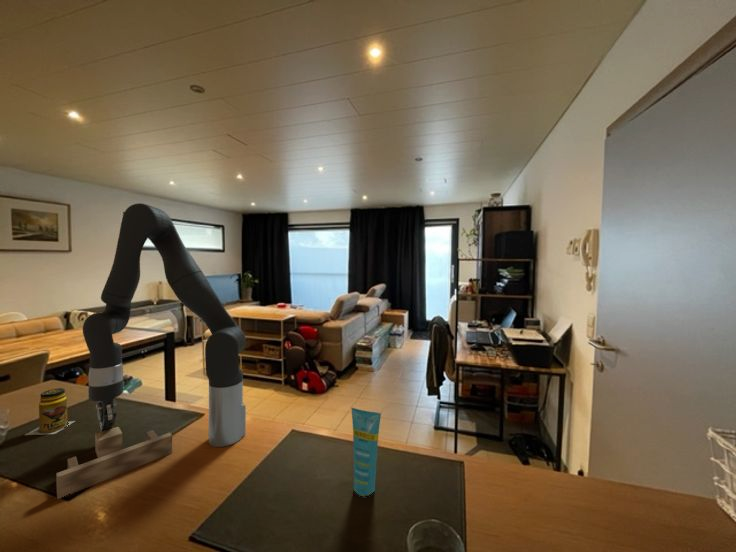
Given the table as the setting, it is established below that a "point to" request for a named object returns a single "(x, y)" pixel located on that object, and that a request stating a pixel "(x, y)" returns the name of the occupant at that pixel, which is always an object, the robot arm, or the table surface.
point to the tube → (365, 449)
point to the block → (108, 442)
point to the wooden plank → (111, 464)
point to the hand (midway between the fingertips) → (106, 439)
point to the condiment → (52, 412)
